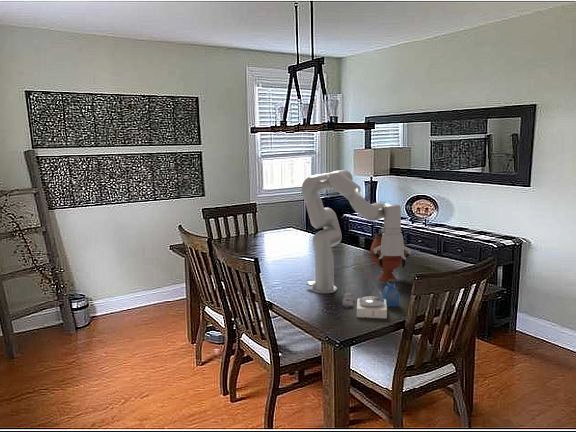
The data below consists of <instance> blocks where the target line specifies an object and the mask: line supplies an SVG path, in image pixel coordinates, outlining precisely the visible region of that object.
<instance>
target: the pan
mask: <svg viewBox="0 0 576 432" xmlns="http://www.w3.org/2000/svg"><path fill="white" fill-rule="evenodd" d="M359 302H360V303H361V304H362V305H365V306H371V307H375V306H381V305H383V304H384V300H383V297H379V296H376V295H375V296H374V295H368V296H367V295H366V296H362V297H360V300H359Z"/></svg>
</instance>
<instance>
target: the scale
mask: <svg viewBox="0 0 576 432" xmlns="http://www.w3.org/2000/svg"><path fill="white" fill-rule="evenodd" d="M360 298H361V297H360ZM360 298H357V303H356V318H365V317H366V319H368V318H370V319H388V318H387V317H388V307H387V306H386V299H383V298H382V299H383V300H384V304H383V305H381V306H375V307H371V306H365V305H362V304H361V303H360V302H359V300H360Z"/></svg>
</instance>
